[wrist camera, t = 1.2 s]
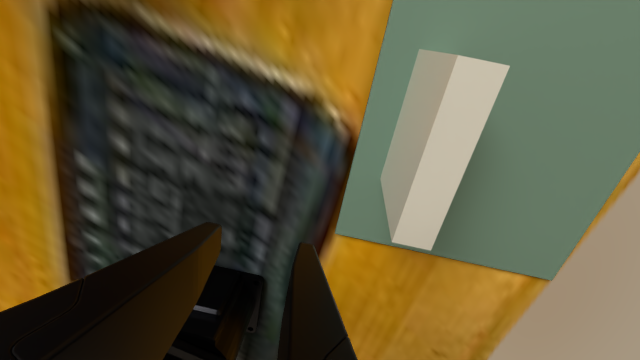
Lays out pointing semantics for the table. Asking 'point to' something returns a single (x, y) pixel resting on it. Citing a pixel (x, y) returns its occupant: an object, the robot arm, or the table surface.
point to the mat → (513, 125)
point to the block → (435, 141)
